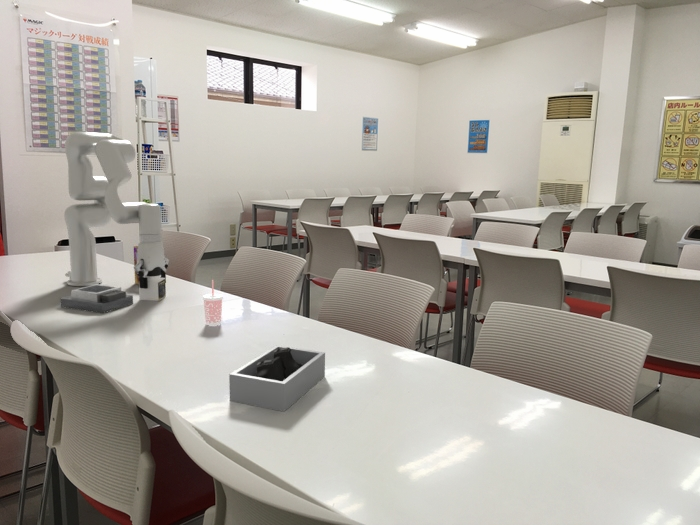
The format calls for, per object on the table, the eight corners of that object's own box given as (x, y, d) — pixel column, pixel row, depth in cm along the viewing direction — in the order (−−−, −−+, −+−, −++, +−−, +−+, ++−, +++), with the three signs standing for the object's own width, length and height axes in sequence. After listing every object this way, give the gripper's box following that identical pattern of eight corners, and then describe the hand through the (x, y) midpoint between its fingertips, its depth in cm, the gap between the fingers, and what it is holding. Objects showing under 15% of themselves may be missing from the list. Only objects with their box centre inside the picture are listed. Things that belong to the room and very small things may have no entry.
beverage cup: (199, 323, 175) (198, 279, 173) (216, 320, 180) (215, 277, 177) (210, 328, 171) (209, 283, 169) (227, 324, 176) (226, 280, 173)
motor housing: (60, 306, 190) (59, 290, 189) (92, 298, 203) (92, 282, 202) (102, 313, 184) (101, 295, 183) (133, 303, 197) (132, 287, 196)
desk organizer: (229, 400, 120) (229, 374, 119) (276, 368, 140) (276, 345, 139) (284, 411, 116) (284, 383, 115) (324, 376, 135) (325, 352, 134)
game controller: (292, 385, 136) (274, 348, 136) (316, 376, 134) (298, 338, 134) (262, 413, 121) (242, 371, 121) (288, 404, 118) (268, 361, 118)
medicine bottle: (159, 301, 201) (157, 268, 199) (139, 300, 202) (137, 267, 200) (166, 296, 208) (165, 264, 206) (147, 295, 209) (145, 263, 207)
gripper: (158, 235, 210) (160, 280, 213) (124, 240, 194) (127, 289, 197) (175, 236, 208) (176, 281, 211) (142, 242, 192) (145, 291, 195)
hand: (153, 285), depth 204 cm, fingers open, 9 cm apart
